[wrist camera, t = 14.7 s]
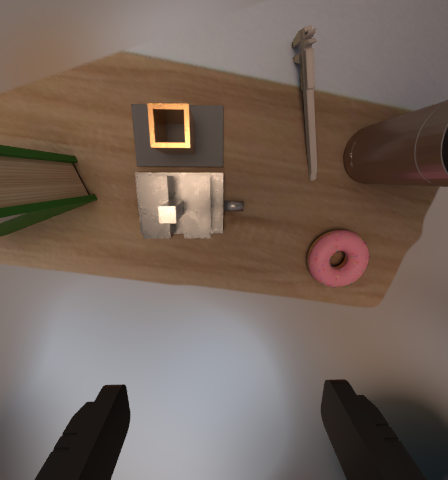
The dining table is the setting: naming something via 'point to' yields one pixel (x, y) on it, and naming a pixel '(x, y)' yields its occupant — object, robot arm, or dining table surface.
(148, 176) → the grey slotted block
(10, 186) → the hardback book
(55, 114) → the dining table surface
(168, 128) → the slate pad
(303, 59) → the caliper
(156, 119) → the copper collar
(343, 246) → the doughnut
